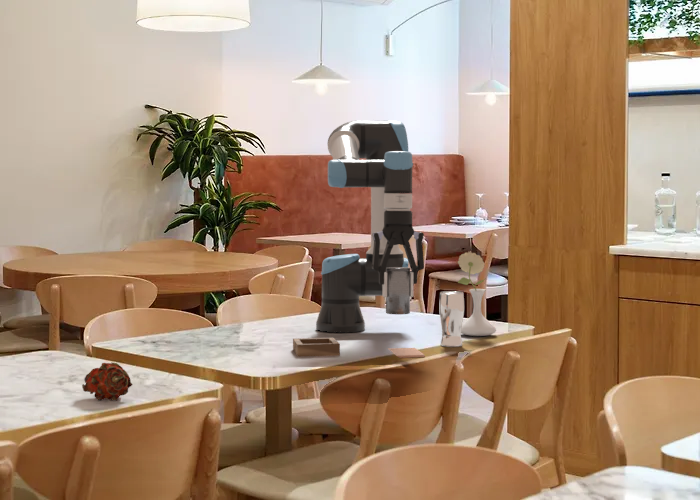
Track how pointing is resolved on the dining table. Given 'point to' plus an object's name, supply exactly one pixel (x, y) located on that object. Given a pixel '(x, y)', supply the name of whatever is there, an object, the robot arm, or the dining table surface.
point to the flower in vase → (474, 297)
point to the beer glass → (451, 317)
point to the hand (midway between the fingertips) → (397, 296)
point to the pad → (406, 352)
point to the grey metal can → (398, 290)
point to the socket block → (316, 347)
